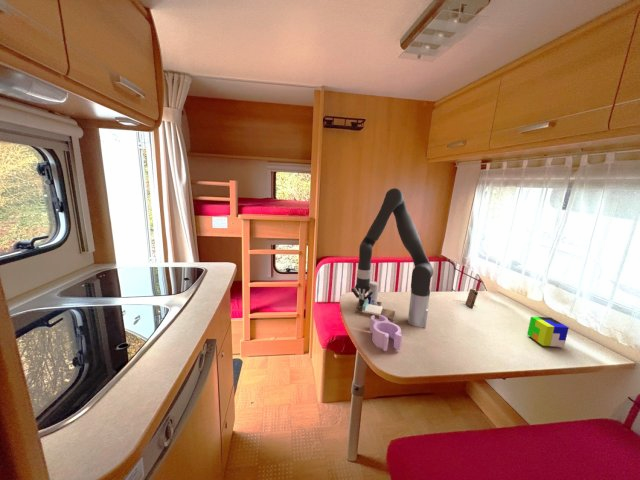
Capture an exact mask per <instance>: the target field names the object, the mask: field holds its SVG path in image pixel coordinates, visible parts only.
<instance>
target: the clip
mask: <svg viewBox="0 0 640 480" xmlns="http://www.w3.org/2000/svg"><path fill="white" fill-rule="evenodd" d="M369 324H370V325H369V332H370V333H371V335H372V337H371V338H372V339H371V340H372V342H373V344H374V345H376V347H379V348H381V349H383V351H384V352H387V350H388V346H389V339H390V338H391V339H392V340H394V341H393V349H396V350H397V351H401V348H402V340H403V339H402V338H403V335H402V329H401V327H400V326H399V325H398V324H396V323H394V322H392V321H390V320H388V318H387V317H385V316H383V315H379V318H378V320H377V319H376V317H375V316H374V315H372V316H370V322H369Z"/></svg>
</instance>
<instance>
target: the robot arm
mask: <svg viewBox="0 0 640 480" xmlns="http://www.w3.org/2000/svg"><path fill="white" fill-rule="evenodd" d="M392 214H393V217H394V219H395V223H396V224H395V225H396V228H397V232H398V233H397V234H398V235H399V238H400V240H401V243H402V244H403V246H404V248H405V249H406V251H407V252H408V254H409V255H410V256H411V260H412V262H413V266H414V268H413V269H412V273H411V282H410V288H411V289H410V291H411V292H410V298H409V306H408V307H409V308H408V315H407V323H408V324H409V325H411V326H412V327H417V328H426V326H427V321H428V320H427V319H428V314H429V313H428V312H429V310H428V309H429V302H430V296H431V295H430V294H431V289H430V288H431V287H430V286H431V280H432V277H433V275H434V269H433V266H432V264H431V262H430V261H429V258H428V257H427V254H426V252H425V250H424V249H425V248H424V246H423V243H422V240H421V236H420V234H419V232H418V229H417V227H416V225H415V222H414V221H413V219H412V216H411V215H410V213H409V211H408V209H407V205H406V201H405V196H404V193H403V192H402V190H401V189H398V188H390V189H389V190H387V191H386V192H385V196H384V199H383V202H382V205H381V206H380V209H379V210H378V213H377V215H376V217H375V218H374V220H373V222H372V223H371V225H370V227H369V228H368V231H367V232H366V234H365V236H364V238H363V239H362V241H361V242H360V244H359V248H358V249H359V252H358V253H359V254H358V262H357V263H358V264H357V271H356V283H355V286H353V287H352V288H351V292H352V293H353V294H354V297H355V298H357V299H358V304H360V305H361V306H362V305H363V304H364V299H367V300H368V298H369V297H370V296H371V295H372V294H373V291H372V290H371V289H370V286H369V285H370V282H371V267H372V256H373V247H374V246H375V244H376V242H377V241H378V240H380V238H381V235H382V234H383V232H384V230H385V228H386V226H387V224H388V221H389V219H390V217H391V215H392ZM368 291H369V294H368ZM366 294H367V295H366Z"/></svg>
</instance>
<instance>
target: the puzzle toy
mask: <svg viewBox="0 0 640 480" xmlns="http://www.w3.org/2000/svg"><path fill="white" fill-rule="evenodd" d="M528 325H529V326H528V329H527V333H526V334H527V336H529V337H530V338H532V339H533V340H534V341H536V342H537V343H538V344H539V345H541V346H544V347H559V348H564V347H565V345H566V340H567V335H568V333H569V326H567V325H565V324H563V323H561V322H560V321H558V320H556V319H554V318H553V317H549V316H548V317H545V316H530V320H529V324H528Z"/></svg>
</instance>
